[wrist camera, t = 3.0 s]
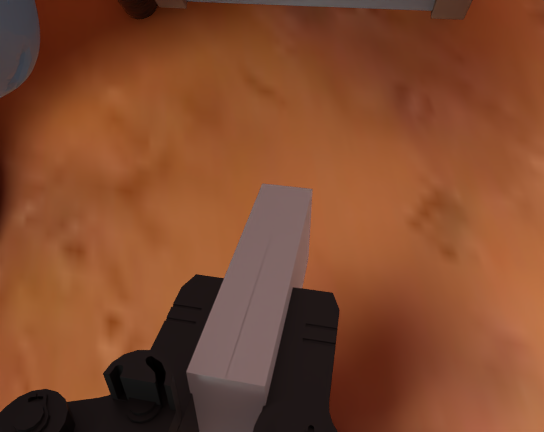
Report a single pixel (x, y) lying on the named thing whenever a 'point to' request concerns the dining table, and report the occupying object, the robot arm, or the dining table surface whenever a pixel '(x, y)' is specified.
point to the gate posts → (139, 7)
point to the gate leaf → (355, 5)
